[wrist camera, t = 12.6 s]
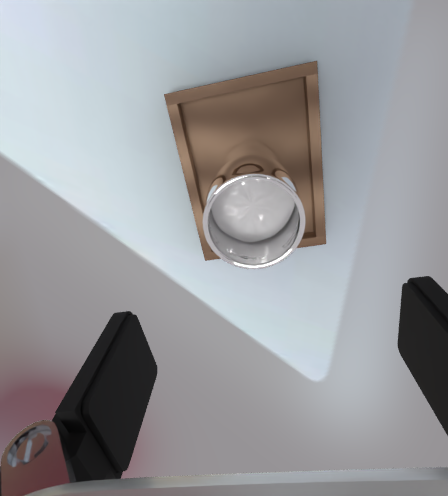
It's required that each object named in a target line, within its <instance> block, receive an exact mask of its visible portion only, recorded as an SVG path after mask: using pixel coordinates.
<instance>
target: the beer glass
mask: <svg viewBox="0 0 448 496" xmlns="http://www.w3.org/2000/svg"><path fill="white" fill-rule="evenodd" d="M304 230H305V212H304V208H303V205H302V201H301V197H300V194H299V191H298V188H297V186H296V183H295V181H294V179H293V178H292V176H291V175H290V173H289V172H288V171H287V169H286V168H285V167H284V166H283V165H282V164H280V163H279V162H278V159H277V157H276V155H275V153H274V152H273V151H272V150H271V149H270V148H269V147H268V146H266V145H264V144H262V143H259V142H245V143H241V144H239V145H237V146H236V147H234V148H233V149H232V150H231V151H230V152H229V153H228V154H227V156H226V158H225V160H224V163H223V167H222V168H221V169H220V170H219V171H218V172H217V174H216V175H215V177H214V179H213V180H212V182H211V184H210V187H209V190H208V193H207V197H206V202H205V210H204V214H203V231H204V235H205V238H206V240H207V242H208V244H209V246H210V247H211V249H212V250H213V251H214V252H215V254H216V255H218V256H219V257H220V258H221V259H222V260H224V261H226V262H227V263H229V264H231V265H234V266H237V267H240V268H245V269H261V268H266V267H270V266H273V265H275V264H277V263H279V262H281V261H283V260H284V259H286V258H287V257H288V256H289V255H290V254H292V252H293V251H294V250H295V249H296V248H297V246H298V245H299V243H300V241H301V239H302V237H303V234H304Z"/></svg>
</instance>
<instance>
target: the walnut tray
mask: <svg viewBox="0 0 448 496" xmlns="http://www.w3.org/2000/svg"><path fill="white" fill-rule="evenodd" d="M164 96H165V100H166V104H167V108H168V112H169V117H170V121H171V125H172V129H173V133H174V137H175V141H176V145H177V149H178V153H179V157H180V161H181V165H182V169H183V173H184V177H185V181H186V185H187V189H188V193H189V197H190V201H191V205H192V209H193V214H194V218H195V222H196V226H197V230H198V234H199V238H200V242H201V246H202V250H203V254H204V258H205V261H207V260H214V259H221V258H220V257H219V256H218V255H216V254H215V252H214V251H213V250H212V249H211V247H210V246H209V244H208V242H207V240H206V238H205V235H204V231H203V214H204V210H205V202H206V197H207V193H208V190H209V187H210V184H211V182H212V180H213V179H214V177H215V175H216V174H217V172H218V171H219V170H220V169H221V168H222V167H223V163H224V160H225V158H226V156H227V154H228V153H229V152H230V151H231V150H232V149H233V148H234V147H236V146H237V145H239V144H241V143H245V142H259V143H262V144H264V145H266V146H268V147H269V148H270V149H271V150H272V151H273V152H274V153H275V155H276V157H277V159H278V162H279V163H280V164H282V165H283V166H284V167H285V168H286V169H287V171H288V172H289V173H290V175H291V176H292V178H293V179H294V181H295V183H296V186H297V188H298V191H299V194H300V197H301V201H302V205H303V208H304V212H305V230H304V234H303V237H302V239H301V241H300V243H299V245H298V246H297V248H301V247H308V246H315V245H322V244H326V231H325V211H324V191H323V171H322V151H321V130H320V110H319V90H318V70H317V61H314V62H309V63H305V64H300V65H295V66H291V67H286V68H282V69H277V70H273V71H268V72H264V73H259V74H255V75H250V76H245V77H241V78H236V79H232V80H227V81H223V82H218V83H214V84H209V85H204V86H200V87H195V88H191V89H186V90H182V91H177V92H173V93H168V94H164Z"/></svg>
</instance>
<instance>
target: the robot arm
mask: <svg viewBox="0 0 448 496" xmlns="http://www.w3.org/2000/svg"><path fill="white" fill-rule="evenodd" d="M399 322H400V323H399V333H398V349H399V352H400V354H401V356H402V358H403V360H404V361H405V363H406V365H407V367H408V368H409V370H410V372H411V374H412V375H413V377H414V379H415V380H416V382H417V384H418V386H419V387H420V389H421V390H422V392H423V394H424V396H425V398H426V399H427V401H428V403H429V404H430V406H431V408H432V410H433V411H434V413H435V415H436V416H437V418H438V420H439V422H440V423H441V425H442V426H443V428H444V430H445V432H446V434H447V435H448V294H447V293H446V292H445V291H444V290H443V289H442V288H441V287H440V286H439V285H438V284H437V283H436V282H435V281H434V280H433V279H432V278H431V277H429V276H425V277H417V278H410V279H409V280H408V282H407V283H404V284H403V286H402V297H401V309H400V321H399ZM156 376H157V365H156V362H155V360H154V357H153V355H152V352H151V350H150V347H149V345H148V342H147V340H146V337H145V335H144V332H143V330H142V327H141V325H140V322H139V320H138V318H137V316H136V315H133V314H132V313H131V312H130V311H127V312H119V313H114V314H113V316H112V317H111V319H110V320H109V322H108V324H107V325H106V327H105V329H104V331H103V332H102V334H101V336H100V337H99V339H98V341H97V342H96V344H95V346H94V347H93V349H92V351H91V352H90V354H89V356H88V358H87V359H86V361H85V363H84V365H83V366H82V368H81V370H80V371H79V373H78V375H77V376H76V378H75V380H74V381H73V383H72V385H71V386H70V388H69V390H68V392H67V393H66V395H65V397H64V399H63V400H62V402H61V403H60V405H59V407H58V409H57V410H56V412H55V413H56V414H55V416H54V418H53V420H52V421H50V420H42V421H38V422H35V423H33V424H31V425H29V426H27V427H26V428H25V429H23V430H22V431H21V432H19V433H18V434H17V435H16V436H15V437H14V438H13V439H12V440H11V441H10V443H9V444H8V445H7V447H6V448H5V450H4V453H3V455H2V458H1V466H0V496H448V467H436V468H392V469H361V470H330V471H329V470H328V471H300V472H299V471H298V472H269V473H242V474H219V475H218V474H216V475H192V476H169V477H144V478H126V479H121V475H122V472H123V471H125V470H127V468H128V466H129V463H130V460H131V457H132V454H133V450H134V447H135V444H136V441H137V437H138V434H139V431H140V428H141V425H142V422H143V418H144V415H145V412H146V408H147V405H148V402H149V399H150V396H151V393H152V389H153V386H154V383H155V380H156Z"/></svg>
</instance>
